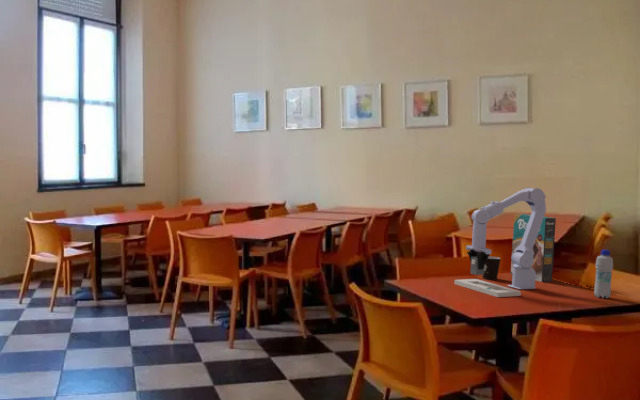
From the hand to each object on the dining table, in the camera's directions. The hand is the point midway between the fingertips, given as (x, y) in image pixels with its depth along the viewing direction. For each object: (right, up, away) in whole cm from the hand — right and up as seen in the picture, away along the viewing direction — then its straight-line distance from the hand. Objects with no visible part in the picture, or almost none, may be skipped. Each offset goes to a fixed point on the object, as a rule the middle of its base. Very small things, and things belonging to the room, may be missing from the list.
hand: (477, 268), depth 268 cm
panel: (+2, -8, -5) cm, 10 cm away
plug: (0, -3, 0) cm, 2 cm away
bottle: (+49, -11, -11) cm, 52 cm away
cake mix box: (+34, -8, +31) cm, 47 cm away
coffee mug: (+12, -7, +24) cm, 28 cm away
